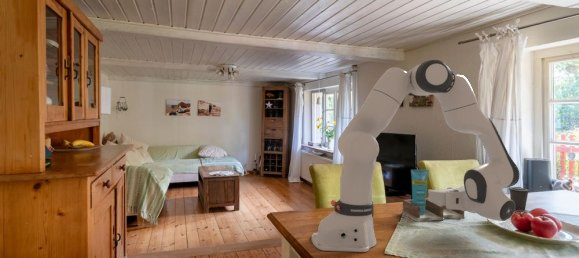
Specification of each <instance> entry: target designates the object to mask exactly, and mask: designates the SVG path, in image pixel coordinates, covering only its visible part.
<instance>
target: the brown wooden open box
mask: <svg viewBox="0 0 579 258" xmlns="http://www.w3.org/2000/svg"><path fill="white" fill-rule="evenodd" d="M443 208H444V206H442V205H437V204H435V203H433V202H431V201H429V199H428V200H427V199H426V200H425V214H424V215H420V207H419V206H417V205H415V204H413V203H412V199H402V214H404V215H405V214H406V215H405V216H407V217H408V216H409V218H410V219H412V220H413V221H415V222H416V221H417V222H432V221H431V220H441V221H444V219H443Z"/></svg>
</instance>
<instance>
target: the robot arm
mask: <svg viewBox="0 0 579 258" xmlns="http://www.w3.org/2000/svg"><path fill="white" fill-rule="evenodd" d="M431 95H432V96H434V97H435V98H436V99H437V100H438V102H439V104H440V108H441V111H442V116H443V118H444V121H445V123H446V125H447V126H448V127H449V128H450V129H451V130H453V131H455V132H458V133H461V134H471V135H475V136H476V137H477V138H478V139H479V140H480V142H481V143H482V146H483V148H484V150H485V152H486V154H487V157H488V161H487V162H486V163H484V164H481V165H478V166H475V167H473V168H471V169H468V170H466V172H465V173H464V176H463V186H460V187H447V188H445V189H442V188H441V189H433V188H432V189H427V191H428V196H427V198H429V200H430V201H432V202H434V203H437V204H439V205H442V206H446V208H447V209H452V210H463V211H464V212H468V213H470V214H477V215H478V216H480V217H483V218H485V219H489V220H493V221H497V222H504V221H507V220H508V219H510V218H511V217H512V216H513V215H514V213H515V211H516V209H515V203H514V201H513V200H511V198H509V197H508V196H507V195H506V193H505V192H504V190H503V189H506V188H511V187H515V185H517V184H518V183H519V181H520V170H519V168H518V166H517V164H516V163H515V162H514V160H513V158H512V157H511V156H510V154H509V152H508V149H506V148H507V147H506V146H505V144H504V142H503V140H502V137H501V135H500V133H499V131H498V130H497V127H496V126H495V124H494V122H493V121H492V120H491V118H489V117H488V116H486V114H484V113H483V111H482V109H481V107H480V105H479V103H478V99H477V96H476V94H475V92H474V90H473V88H472V86H471V83H470V82H469V80H468V79H467V77H466V76H464V75H462V74H461V75H460V74H455V73H454V71H452V70H451V69H450V67H449V65H447V63H445V62H444V61H442V60H439V59H429V60H425V61H424V62H421V63H419V64H417V65H415V66H414V67H412V68H411V69H408V70H405V69H402V68H401V67H389V68H388V69H387V70H386V71H385V72H384V73H383V74H382V75H381V76H380V77H379V79H378V80H377V81H376V82H375V84H374V85H373V87H372V88H371V90H370V91H369V93H368V95H367V97H366V99H365V100H364V102H363V103H362V105H361V107H360V108H359V110H358V111H357V113H356V114H355V115H354V116H353V118H352V119H351V120H350V121H349V123H348V125H346V127H345V128H344V130H343V131H342V133H341V134H340V135H339V137H338V139H337V150H338V151H339V154H341V155H342V157H343V159H342V169H341V175H340V178H339V179H340V180H339V199H338V200H337V201H336V200H335V199H331V201H330V205H331V206H332V207H333V209H334V210H333V211H332V212H331V213H329V214H328V215H327V216H325V217H324V218H323V219H321V220H320V222H319V224H318V228H317V229H318V230H317V232H313V233H312V235H311V240H310V241H311V243H312V245H313V246H314V247H315V248H316V249H318V250H320V251H324V252H326V251H328V252H329V251H330V252H356V253H357V252H359V253H366V252H369V250H370V249H371V248H373V247H375V246H376V245H377V239H376V234H375V229H374V219H373V218H374V213H375V212H374V211H375V210H374V202H373V179H374V173H375V168H376V165H377V164H376V163H377V157H378V156H379V153H380V147H379V145H380V144H379V143H378V140H377V138H378V137H379V135H380V134H381V133H382V132H383V131H384V130H385V129H386V128H387V127H388V126H389V125H390V123H391V121H392V120H393V118H394V116H395V115H396V113H397V112H398V110H399V108H400V107H401V105H402V103H403V101H404V99H405V98H406V97H407V96H412V97H417V98H418V97H424V96H431Z"/></svg>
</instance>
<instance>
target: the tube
mask: <svg viewBox="0 0 579 258" xmlns="http://www.w3.org/2000/svg"><path fill="white" fill-rule="evenodd" d="M410 173H411V174H410V175H411V193H412V195H411V196H412V197H411V198H412V203H413V204H415V205H417V206H419V207H420V215H424V214H425V200H426V198H427V190H428V188H427V187H428V178H429V169H410Z"/></svg>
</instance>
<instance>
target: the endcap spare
mask: <svg viewBox="0 0 579 258" xmlns="http://www.w3.org/2000/svg"><path fill="white" fill-rule="evenodd" d="M426 199H427V200H428V199H429V197H426ZM429 201H430V200H429ZM431 202H432V201H431ZM433 203H434V202H433ZM435 204H437V203H435ZM437 205H439V204H437ZM443 218H450V219H464V218H465V211H463V210H452V209H447V208H446V206H444V208H443Z"/></svg>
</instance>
